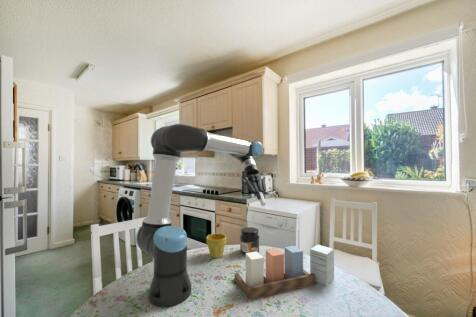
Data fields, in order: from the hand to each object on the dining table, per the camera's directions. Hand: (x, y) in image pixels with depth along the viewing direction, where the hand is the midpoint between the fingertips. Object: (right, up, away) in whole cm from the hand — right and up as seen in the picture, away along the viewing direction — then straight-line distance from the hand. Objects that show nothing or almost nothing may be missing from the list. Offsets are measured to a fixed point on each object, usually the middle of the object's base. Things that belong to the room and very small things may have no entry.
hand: (263, 204), depth 106 cm
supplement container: (-6, -28, +11) cm, 31 cm away
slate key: (+11, -28, -15) cm, 33 cm away
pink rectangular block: (+2, -28, -18) cm, 33 cm away
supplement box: (+22, -28, -16) cm, 39 cm away
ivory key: (-6, -27, -21) cm, 35 cm away
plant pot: (-24, -28, +7) cm, 38 cm away
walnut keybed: (+2, -28, -18) cm, 33 cm away
